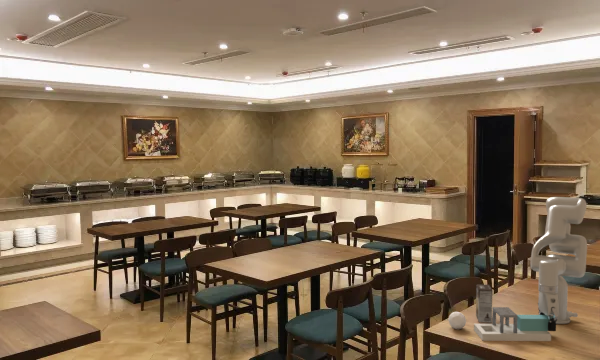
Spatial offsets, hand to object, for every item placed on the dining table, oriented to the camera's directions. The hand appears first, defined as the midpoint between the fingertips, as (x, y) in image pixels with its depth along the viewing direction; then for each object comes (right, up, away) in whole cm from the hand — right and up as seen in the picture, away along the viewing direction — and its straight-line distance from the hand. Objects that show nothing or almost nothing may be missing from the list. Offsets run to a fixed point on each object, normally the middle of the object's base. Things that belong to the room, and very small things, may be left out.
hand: (547, 327), depth 213 cm
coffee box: (-20, -3, +21) cm, 29 cm away
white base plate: (-15, -4, +1) cm, 16 cm away
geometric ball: (-37, -4, +10) cm, 38 cm away
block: (-5, -1, 0) cm, 5 cm away
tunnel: (-18, -1, +1) cm, 19 cm away
